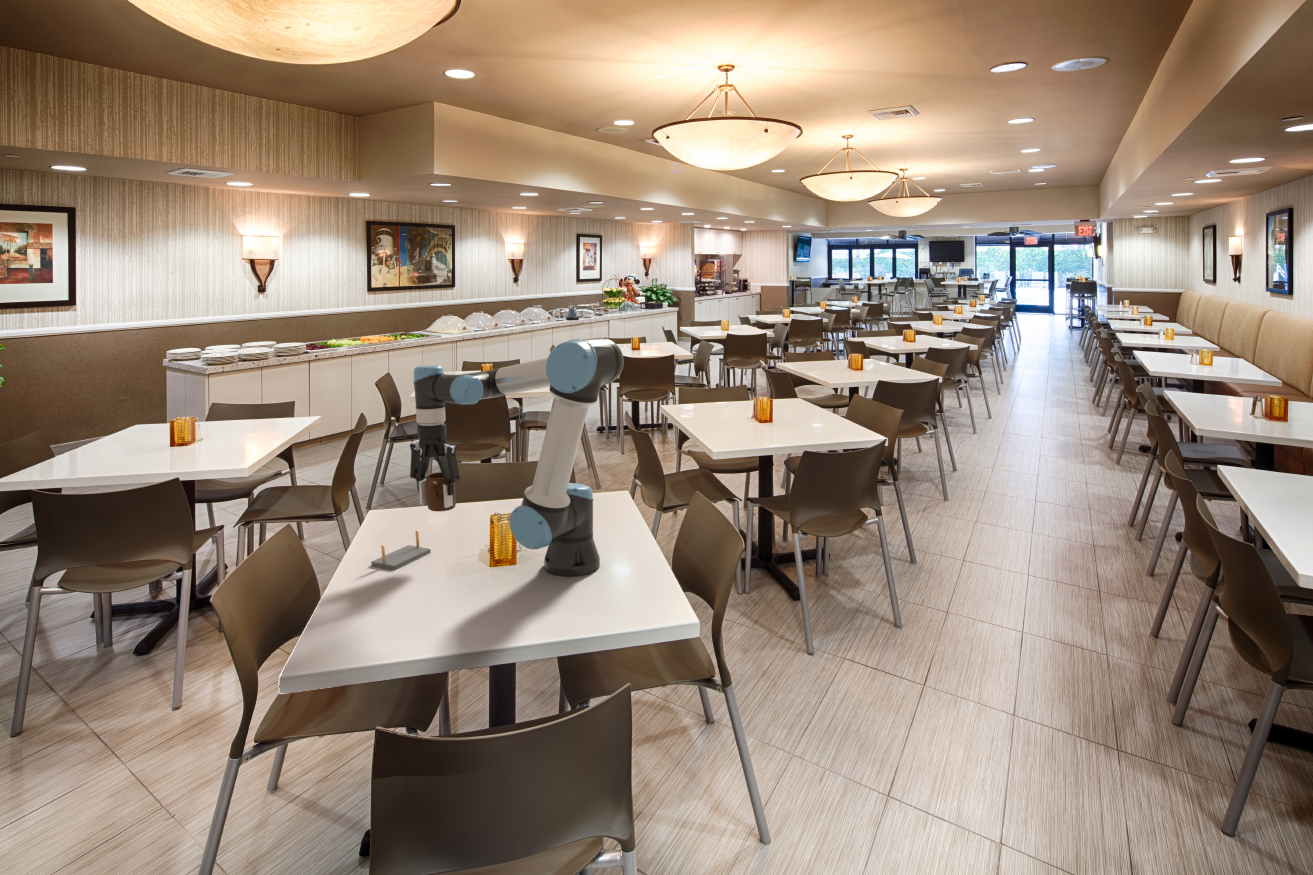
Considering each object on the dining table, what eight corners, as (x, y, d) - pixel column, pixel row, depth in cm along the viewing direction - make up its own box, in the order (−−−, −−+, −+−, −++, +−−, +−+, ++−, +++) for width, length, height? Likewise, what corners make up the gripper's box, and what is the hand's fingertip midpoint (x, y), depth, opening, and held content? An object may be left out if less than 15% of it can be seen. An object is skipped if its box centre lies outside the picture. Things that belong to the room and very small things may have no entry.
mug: (446, 517, 195) (444, 483, 193) (418, 516, 195) (416, 482, 194) (459, 504, 207) (457, 472, 205) (432, 504, 207) (431, 471, 205)
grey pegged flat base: (430, 552, 210) (429, 532, 209) (394, 570, 197) (393, 548, 195) (408, 549, 213) (407, 528, 212) (371, 565, 200) (370, 544, 198)
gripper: (471, 423, 196) (475, 505, 201) (410, 418, 204) (416, 497, 208) (453, 427, 190) (458, 512, 194) (391, 423, 197) (397, 504, 201)
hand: (436, 504), depth 201 cm, fingers closed on mug, 7 cm apart
